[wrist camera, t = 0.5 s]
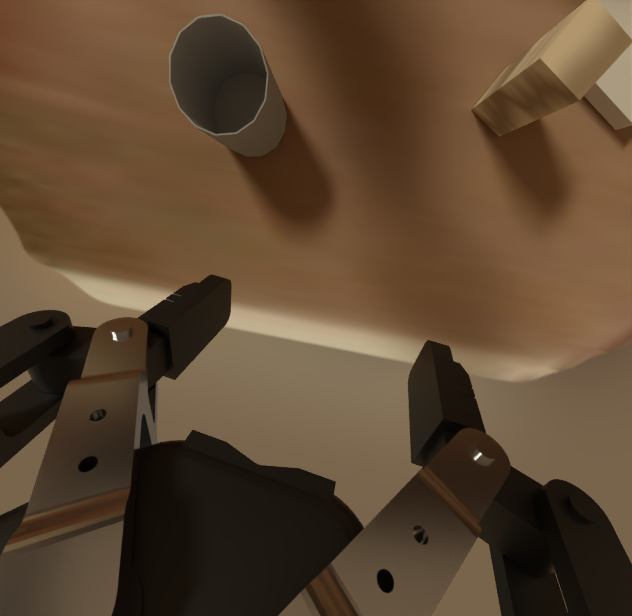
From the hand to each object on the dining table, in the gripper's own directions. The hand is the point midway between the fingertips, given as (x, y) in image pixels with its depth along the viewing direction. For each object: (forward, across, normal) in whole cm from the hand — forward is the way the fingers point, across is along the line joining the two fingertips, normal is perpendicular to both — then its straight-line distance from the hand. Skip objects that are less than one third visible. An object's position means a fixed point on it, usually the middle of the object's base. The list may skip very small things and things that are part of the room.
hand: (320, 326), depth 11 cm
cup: (+28, +16, -6) cm, 33 cm away
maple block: (+33, -11, -12) cm, 37 cm away
